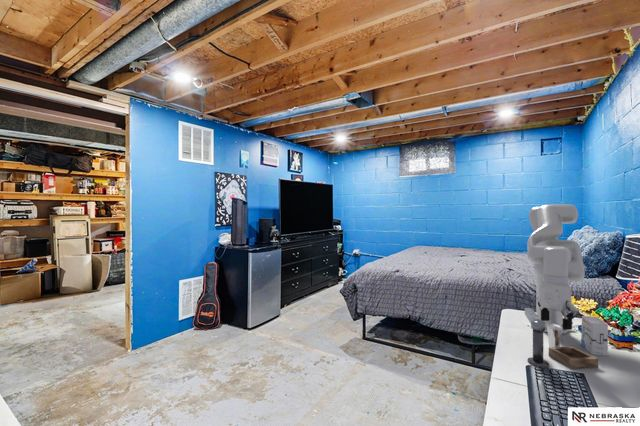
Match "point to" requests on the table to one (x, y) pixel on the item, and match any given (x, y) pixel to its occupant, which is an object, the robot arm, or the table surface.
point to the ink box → (594, 335)
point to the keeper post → (538, 350)
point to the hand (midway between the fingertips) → (555, 324)
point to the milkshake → (554, 335)
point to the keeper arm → (534, 320)
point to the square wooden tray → (573, 357)
